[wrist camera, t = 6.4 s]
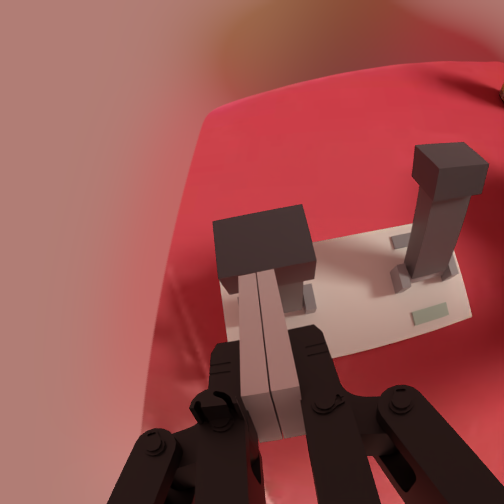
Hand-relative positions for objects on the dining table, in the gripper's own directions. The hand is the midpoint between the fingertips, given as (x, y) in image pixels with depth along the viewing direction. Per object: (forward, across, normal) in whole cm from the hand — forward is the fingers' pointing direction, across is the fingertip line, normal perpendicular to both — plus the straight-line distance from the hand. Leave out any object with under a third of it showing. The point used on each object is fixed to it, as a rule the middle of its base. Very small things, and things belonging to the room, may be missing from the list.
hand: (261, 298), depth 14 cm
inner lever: (+8, +14, -7) cm, 17 cm away
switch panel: (+13, +7, -12) cm, 19 cm away
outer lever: (+8, +1, -6) cm, 10 cm away
